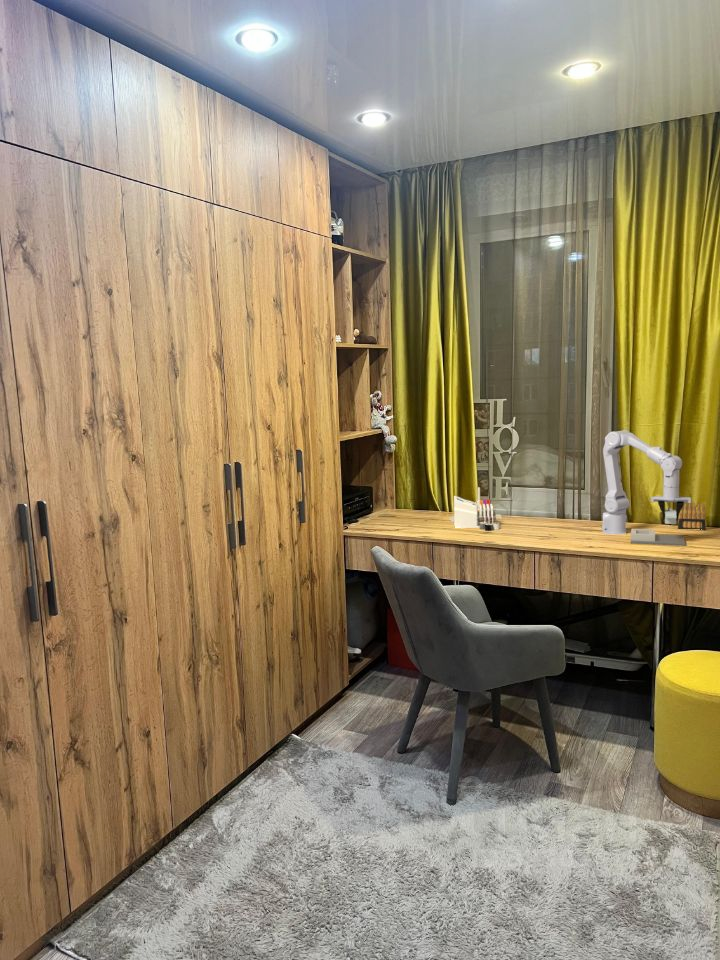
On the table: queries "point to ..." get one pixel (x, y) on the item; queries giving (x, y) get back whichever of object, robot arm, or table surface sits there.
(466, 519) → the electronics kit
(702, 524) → the ammunition clip
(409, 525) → the table surface
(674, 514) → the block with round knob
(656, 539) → the servo chassis
